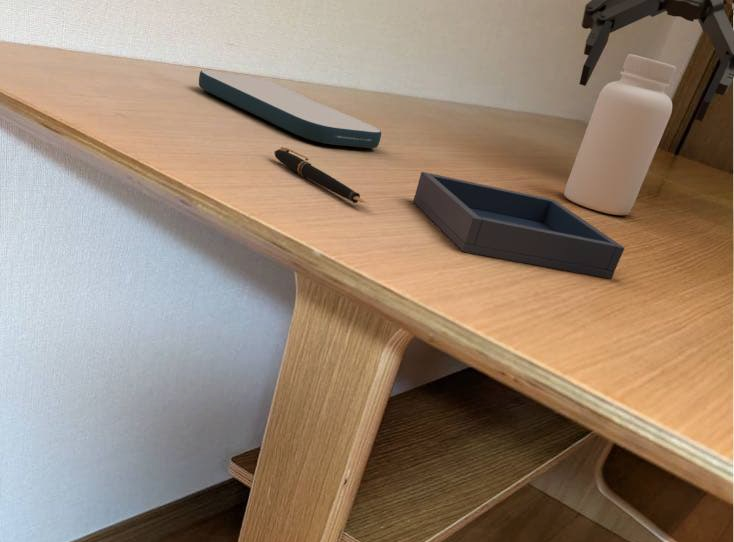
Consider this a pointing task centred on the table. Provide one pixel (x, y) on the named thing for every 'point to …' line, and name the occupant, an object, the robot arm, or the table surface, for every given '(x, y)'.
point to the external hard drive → (290, 110)
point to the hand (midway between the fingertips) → (642, 93)
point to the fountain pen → (315, 174)
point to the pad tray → (515, 226)
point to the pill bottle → (622, 137)
